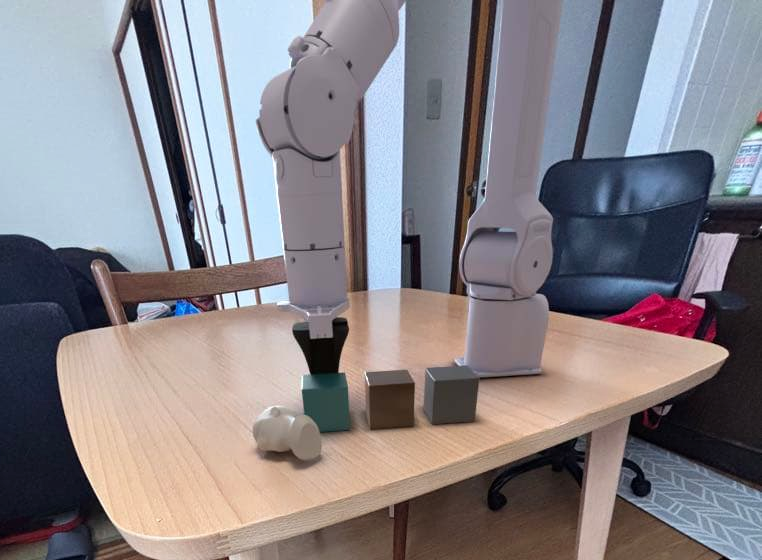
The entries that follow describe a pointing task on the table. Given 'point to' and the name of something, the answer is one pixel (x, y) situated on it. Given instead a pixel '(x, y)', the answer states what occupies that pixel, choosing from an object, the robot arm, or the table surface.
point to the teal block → (326, 400)
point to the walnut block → (389, 399)
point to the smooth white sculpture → (287, 432)
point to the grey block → (450, 394)
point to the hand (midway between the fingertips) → (325, 393)
